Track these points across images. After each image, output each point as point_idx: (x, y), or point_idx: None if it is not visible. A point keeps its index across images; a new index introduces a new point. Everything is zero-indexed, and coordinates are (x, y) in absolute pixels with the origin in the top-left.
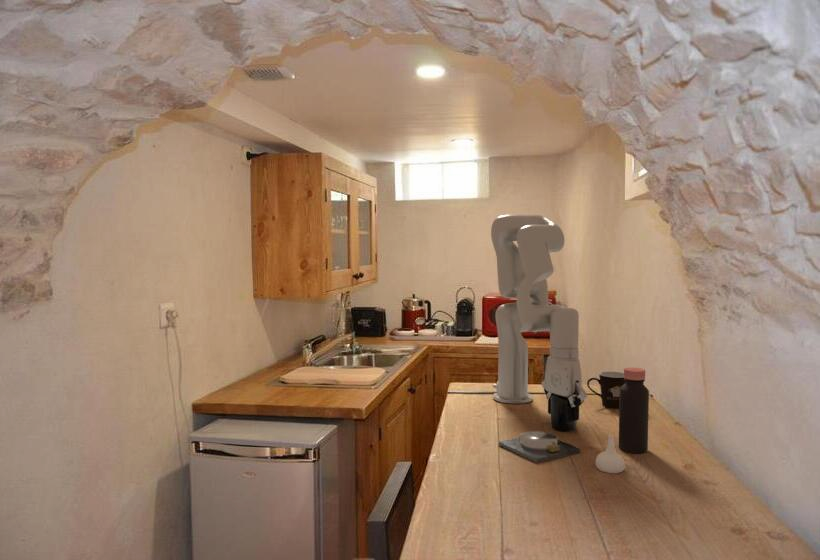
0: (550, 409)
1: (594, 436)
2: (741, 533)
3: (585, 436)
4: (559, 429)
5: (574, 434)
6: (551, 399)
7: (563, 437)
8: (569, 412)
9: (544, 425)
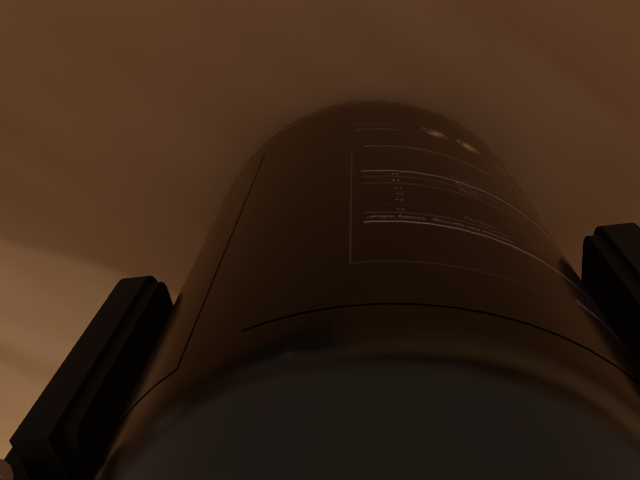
0: (610, 277)
1: (47, 348)
2: None
3: (61, 281)
4: (276, 136)
5: (145, 224)
6: (498, 349)
7: (69, 40)
8: (90, 354)
9: (586, 105)
